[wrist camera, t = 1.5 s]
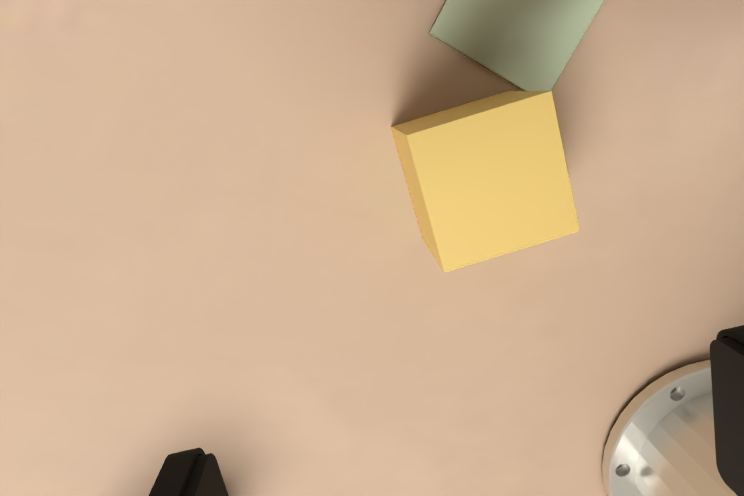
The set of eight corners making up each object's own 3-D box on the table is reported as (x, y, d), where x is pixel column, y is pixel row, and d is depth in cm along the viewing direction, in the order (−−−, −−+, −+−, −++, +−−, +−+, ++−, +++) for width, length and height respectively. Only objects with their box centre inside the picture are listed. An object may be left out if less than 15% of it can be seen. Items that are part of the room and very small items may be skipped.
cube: (506, 90, 28) (551, 90, 23) (531, 204, 30) (579, 231, 24) (390, 126, 29) (406, 135, 23) (422, 238, 30) (444, 272, 24)
